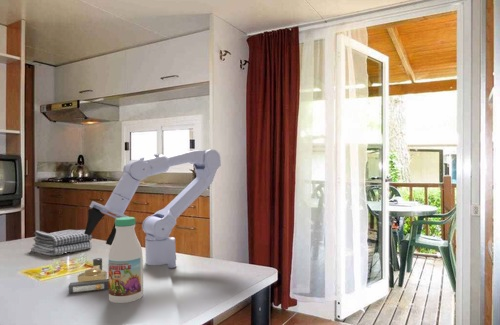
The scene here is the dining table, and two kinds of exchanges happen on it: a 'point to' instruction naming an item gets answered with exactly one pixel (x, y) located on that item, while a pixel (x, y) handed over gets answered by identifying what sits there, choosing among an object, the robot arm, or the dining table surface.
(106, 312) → the dining table surface
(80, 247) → the towel
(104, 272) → the tan piece
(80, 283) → the stand base
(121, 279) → the milk bottle
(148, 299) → the dining table surface
